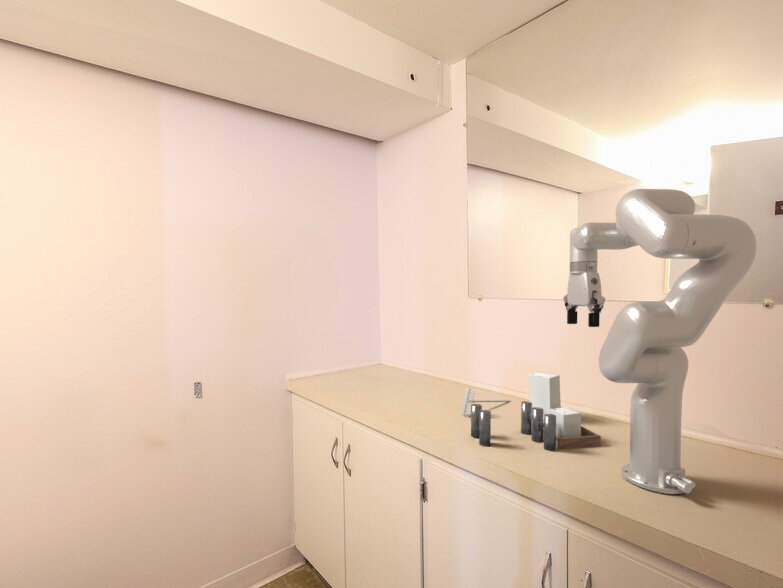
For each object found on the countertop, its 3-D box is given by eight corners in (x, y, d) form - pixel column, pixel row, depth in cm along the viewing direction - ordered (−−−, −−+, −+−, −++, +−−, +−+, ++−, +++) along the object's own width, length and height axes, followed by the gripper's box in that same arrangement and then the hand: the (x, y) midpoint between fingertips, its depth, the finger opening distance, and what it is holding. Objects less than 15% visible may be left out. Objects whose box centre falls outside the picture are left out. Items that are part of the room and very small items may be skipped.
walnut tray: (600, 445, 107) (600, 436, 107) (559, 448, 105) (559, 439, 105) (571, 429, 120) (571, 420, 120) (533, 431, 117) (534, 423, 117)
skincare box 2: (581, 438, 110) (581, 413, 110) (563, 441, 109) (563, 414, 109) (566, 431, 116) (566, 406, 116) (549, 433, 115) (549, 408, 115)
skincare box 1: (561, 420, 128) (561, 375, 128) (550, 423, 125) (550, 377, 125) (539, 413, 135) (539, 370, 135) (528, 416, 132) (528, 372, 132)
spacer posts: (558, 450, 104) (558, 417, 104) (491, 455, 100) (492, 421, 100) (528, 430, 118) (528, 401, 118) (469, 434, 115) (469, 404, 115)
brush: (514, 416, 147) (520, 392, 147) (468, 419, 130) (474, 391, 130) (506, 413, 150) (511, 389, 150) (460, 414, 133) (466, 387, 133)
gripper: (615, 267, 110) (614, 328, 110) (575, 270, 127) (575, 322, 127) (592, 266, 108) (591, 328, 108) (554, 269, 125) (554, 323, 125)
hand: (582, 325), depth 118 cm, fingers open, 9 cm apart
